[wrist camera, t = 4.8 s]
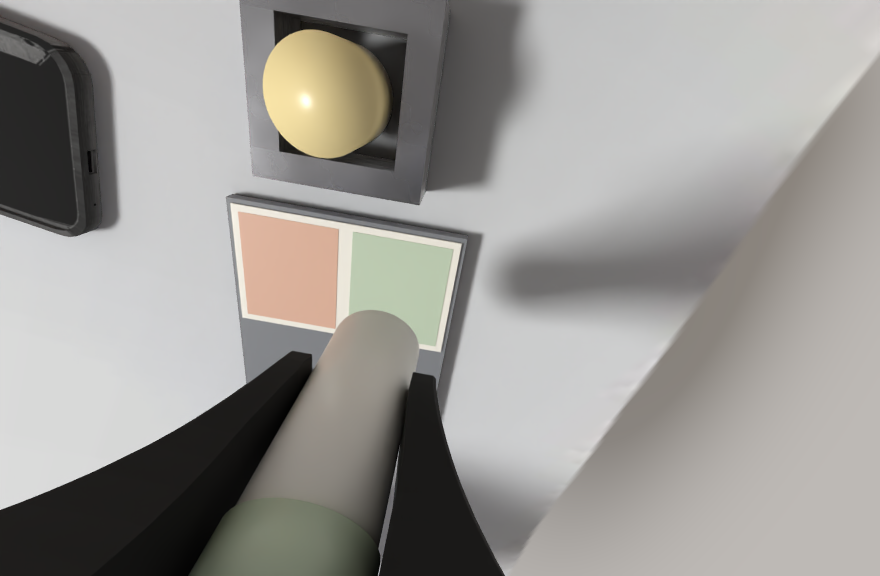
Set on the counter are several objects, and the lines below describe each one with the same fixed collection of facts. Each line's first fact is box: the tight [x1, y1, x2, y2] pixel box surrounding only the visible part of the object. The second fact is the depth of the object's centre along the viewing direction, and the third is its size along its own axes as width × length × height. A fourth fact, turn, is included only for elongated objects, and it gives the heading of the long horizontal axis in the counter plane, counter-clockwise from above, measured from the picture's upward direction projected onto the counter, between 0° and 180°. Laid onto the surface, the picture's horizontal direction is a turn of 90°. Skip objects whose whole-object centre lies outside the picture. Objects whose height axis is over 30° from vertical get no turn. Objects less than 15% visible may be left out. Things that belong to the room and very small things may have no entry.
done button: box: [263, 30, 393, 158], centre depth 12 cm, size 3×3×2 cm
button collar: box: [240, 0, 451, 205], centre depth 13 cm, size 6×6×2 cm
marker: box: [188, 310, 419, 576], centre depth 10 cm, size 3×3×8 cm
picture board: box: [226, 194, 468, 391], centre depth 19 cm, size 12×10×1 cm
